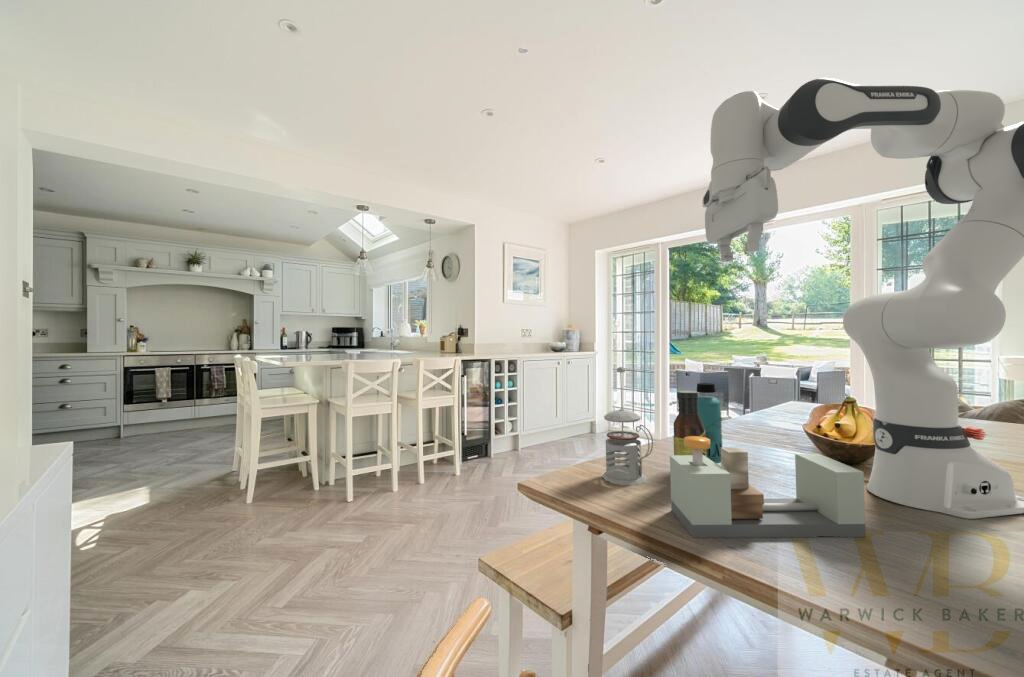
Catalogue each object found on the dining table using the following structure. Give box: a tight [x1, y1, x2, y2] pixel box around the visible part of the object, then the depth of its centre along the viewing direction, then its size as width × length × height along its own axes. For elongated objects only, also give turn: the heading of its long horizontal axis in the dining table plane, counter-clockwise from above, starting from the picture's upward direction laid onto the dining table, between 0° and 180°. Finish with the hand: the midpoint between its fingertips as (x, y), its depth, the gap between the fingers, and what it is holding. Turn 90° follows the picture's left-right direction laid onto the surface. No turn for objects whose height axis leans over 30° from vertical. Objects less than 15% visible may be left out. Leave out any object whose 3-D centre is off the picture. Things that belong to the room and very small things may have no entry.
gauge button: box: [684, 436, 710, 466], centre depth 69 cm, size 4×4×6 cm
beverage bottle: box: [696, 382, 723, 464], centre depth 98 cm, size 6×7×20 cm
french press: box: [602, 366, 654, 486], centre depth 91 cm, size 10×12×25 cm
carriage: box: [720, 446, 765, 519], centre depth 69 cm, size 5×8×10 cm, turn 177°
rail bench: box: [669, 452, 867, 539], centre depth 68 cm, size 26×10×10 cm, turn 87°
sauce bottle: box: [672, 390, 706, 456], centre depth 86 cm, size 7×6×20 cm
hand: (738, 257), depth 77 cm, fingers open, 8 cm apart
